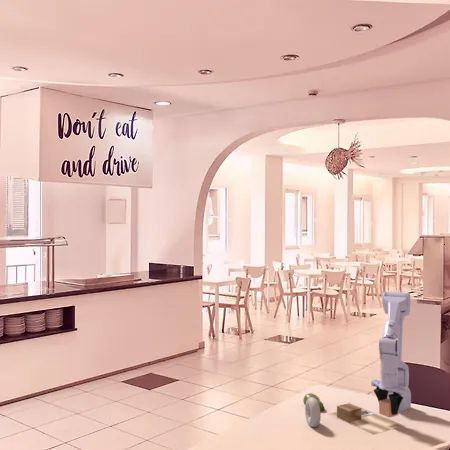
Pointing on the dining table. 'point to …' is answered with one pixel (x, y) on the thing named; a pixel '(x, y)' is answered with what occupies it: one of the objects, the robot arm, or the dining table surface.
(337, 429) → the dining table surface
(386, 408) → the top block
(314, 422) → the donut
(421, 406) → the dining table surface
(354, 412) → the base block
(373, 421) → the build board
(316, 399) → the pear
